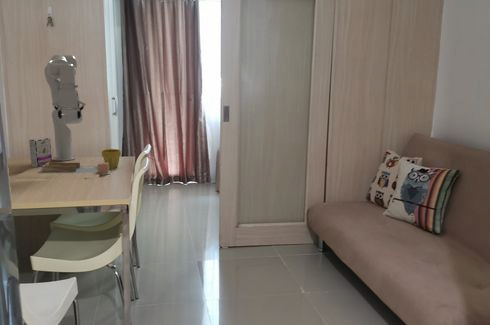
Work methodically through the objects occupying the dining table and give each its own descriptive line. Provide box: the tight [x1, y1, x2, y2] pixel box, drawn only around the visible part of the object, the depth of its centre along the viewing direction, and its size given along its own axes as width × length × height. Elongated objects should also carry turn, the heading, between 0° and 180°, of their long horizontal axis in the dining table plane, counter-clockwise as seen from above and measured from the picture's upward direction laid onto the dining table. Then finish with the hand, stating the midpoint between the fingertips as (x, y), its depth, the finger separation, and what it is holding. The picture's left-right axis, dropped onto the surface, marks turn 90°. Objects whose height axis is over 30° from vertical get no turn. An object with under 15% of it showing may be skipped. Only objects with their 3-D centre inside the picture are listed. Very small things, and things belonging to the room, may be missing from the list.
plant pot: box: [101, 148, 122, 169], centre depth 253 cm, size 10×10×10 cm
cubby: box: [41, 162, 81, 172], centre depth 238 cm, size 10×17×3 cm, turn 98°
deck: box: [37, 165, 98, 174], centre depth 240 cm, size 18×29×1 cm, turn 98°
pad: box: [98, 170, 112, 176], centre depth 237 cm, size 7×7×1 cm
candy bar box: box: [28, 137, 53, 168], centre depth 249 cm, size 11×5×16 cm, turn 161°
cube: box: [97, 162, 110, 174], centre depth 235 cm, size 5×5×5 cm
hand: (69, 118), depth 242 cm, fingers open, 9 cm apart
